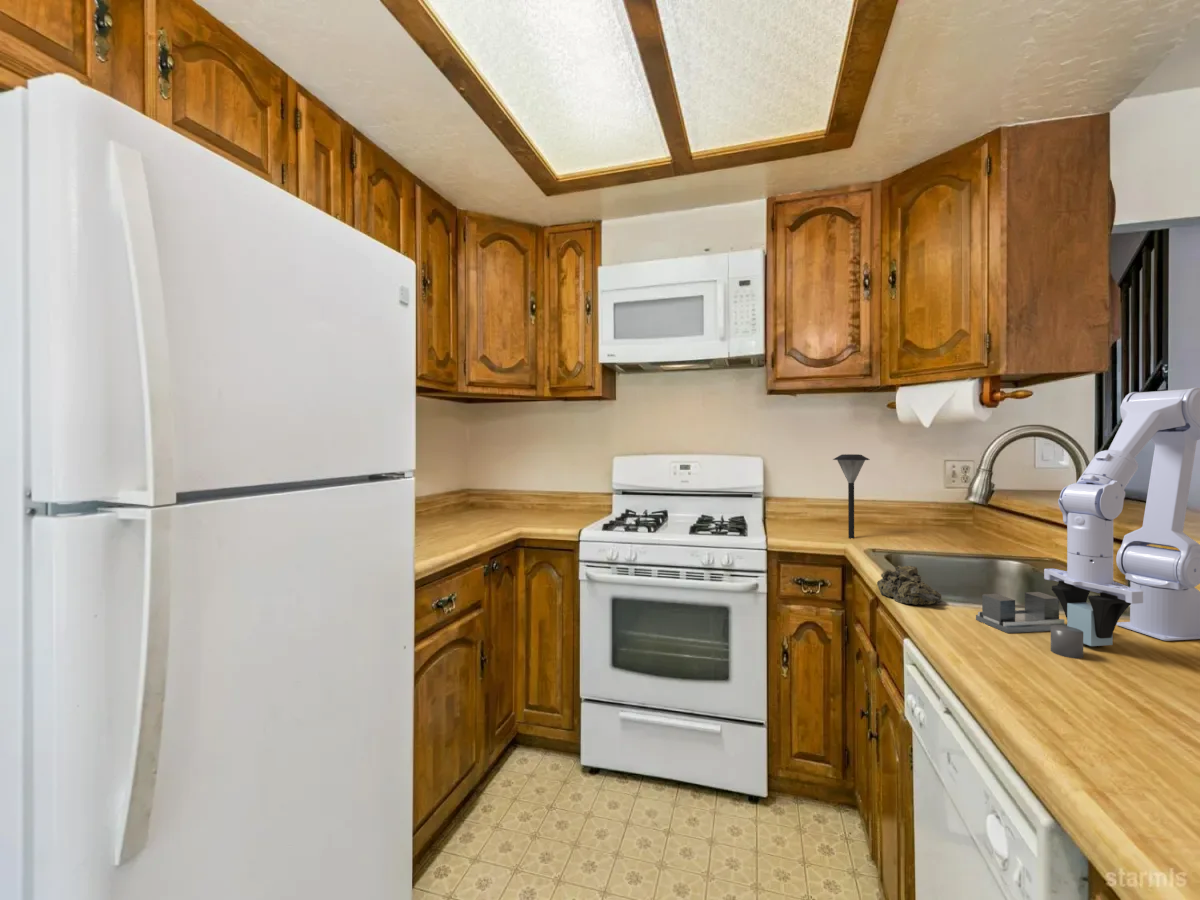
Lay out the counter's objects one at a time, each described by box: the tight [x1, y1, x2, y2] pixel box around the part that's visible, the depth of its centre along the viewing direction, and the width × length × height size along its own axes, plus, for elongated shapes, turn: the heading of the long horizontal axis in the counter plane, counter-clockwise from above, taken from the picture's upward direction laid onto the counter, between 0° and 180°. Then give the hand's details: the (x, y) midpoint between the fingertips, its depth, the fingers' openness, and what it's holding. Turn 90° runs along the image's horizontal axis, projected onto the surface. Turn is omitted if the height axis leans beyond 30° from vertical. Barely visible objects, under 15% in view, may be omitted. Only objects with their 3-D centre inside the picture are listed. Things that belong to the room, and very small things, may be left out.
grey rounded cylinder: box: [1050, 625, 1084, 659], centre depth 85 cm, size 4×4×4 cm
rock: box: [876, 565, 942, 606], centre depth 115 cm, size 13×10×10 cm
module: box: [1066, 601, 1114, 647], centre depth 88 cm, size 4×4×6 cm
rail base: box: [975, 591, 1067, 634], centre depth 98 cm, size 12×7×6 cm, turn 95°
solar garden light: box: [832, 453, 870, 539], centre depth 183 cm, size 12×12×30 cm
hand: (1089, 632), depth 88 cm, fingers closed on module, 4 cm apart
